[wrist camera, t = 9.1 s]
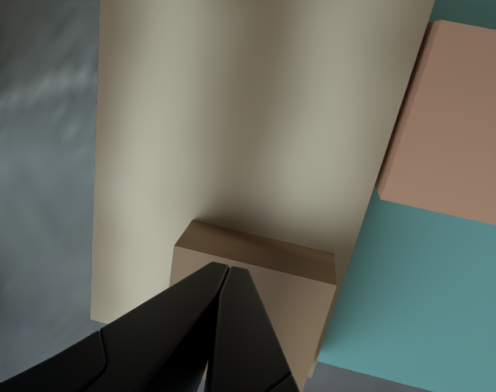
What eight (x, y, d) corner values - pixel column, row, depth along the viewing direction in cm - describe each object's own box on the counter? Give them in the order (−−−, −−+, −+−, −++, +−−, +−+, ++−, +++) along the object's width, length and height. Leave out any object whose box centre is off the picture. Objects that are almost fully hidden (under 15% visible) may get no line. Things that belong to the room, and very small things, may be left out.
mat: (314, 345, 23) (314, 360, 22) (430, -18, 16) (439, -23, 14) (489, 390, 22) (498, 408, 21) (697, 30, 15) (728, 29, 14)
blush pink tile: (372, 179, 18) (380, 199, 15) (422, 23, 15) (441, 19, 13) (520, 212, 17) (552, 238, 15) (597, 56, 15) (650, 58, 12)
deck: (116, 287, 24) (90, 319, 21) (137, -56, 17) (101, -76, 14) (311, 337, 23) (311, 377, 20) (418, -5, 16) (440, -16, 13)
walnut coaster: (176, 330, 20) (159, 367, 18) (192, 219, 18) (174, 245, 15) (300, 363, 20) (298, 405, 17) (334, 253, 17) (336, 285, 15)
